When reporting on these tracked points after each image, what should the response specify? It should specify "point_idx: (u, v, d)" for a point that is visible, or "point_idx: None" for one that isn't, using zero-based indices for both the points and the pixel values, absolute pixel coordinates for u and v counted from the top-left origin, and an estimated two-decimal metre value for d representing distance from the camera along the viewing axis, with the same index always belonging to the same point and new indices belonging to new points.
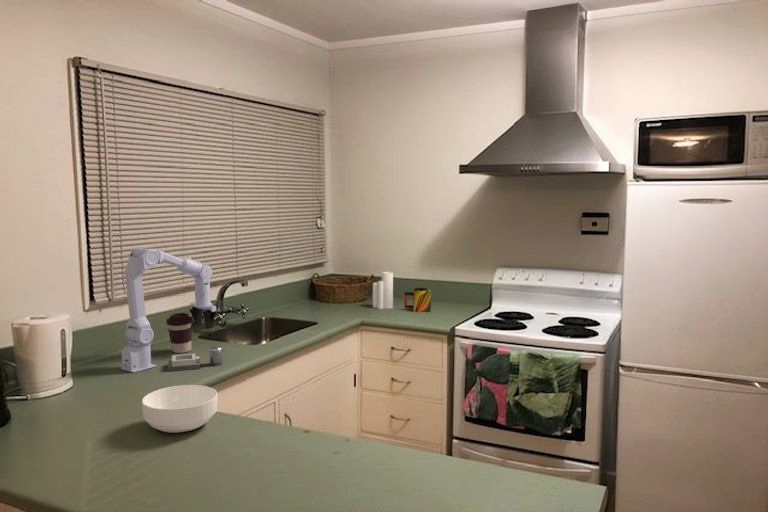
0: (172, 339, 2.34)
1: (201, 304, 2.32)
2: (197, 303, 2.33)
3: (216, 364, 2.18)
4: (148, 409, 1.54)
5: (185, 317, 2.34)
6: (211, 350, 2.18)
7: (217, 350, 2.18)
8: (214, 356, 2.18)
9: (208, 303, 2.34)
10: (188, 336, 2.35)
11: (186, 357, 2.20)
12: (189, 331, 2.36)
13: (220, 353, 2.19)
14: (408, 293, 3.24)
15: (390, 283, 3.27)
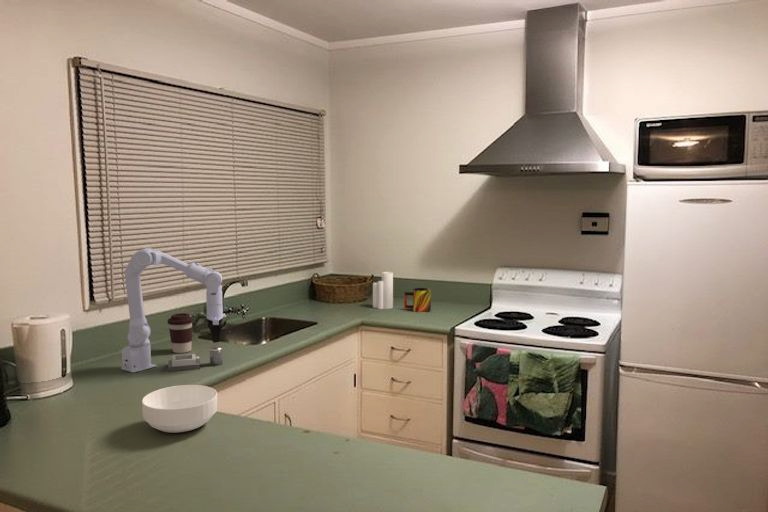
0: (172, 339, 2.34)
1: (209, 315, 2.16)
2: (207, 313, 2.17)
3: (216, 364, 2.18)
4: (148, 409, 1.54)
5: (186, 317, 2.35)
6: (211, 350, 2.18)
7: (217, 350, 2.18)
8: (214, 356, 2.18)
9: (217, 315, 2.16)
10: (188, 336, 2.36)
11: (186, 357, 2.20)
12: (190, 331, 2.36)
13: (220, 353, 2.19)
14: (408, 293, 3.24)
15: (390, 283, 3.27)
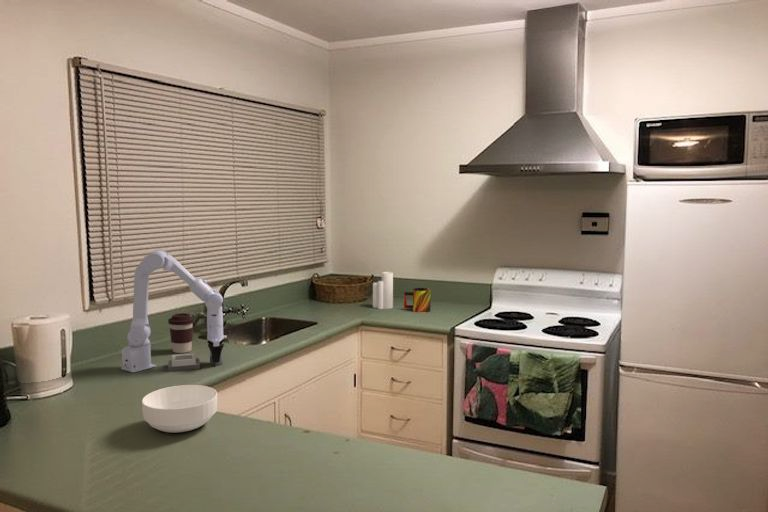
0: (173, 338, 2.34)
1: (209, 336, 2.17)
2: (207, 334, 2.18)
3: (216, 364, 2.18)
4: (148, 409, 1.54)
5: (187, 317, 2.35)
6: None
7: None
8: None
9: (217, 336, 2.17)
10: (189, 336, 2.36)
11: (186, 357, 2.20)
12: (190, 331, 2.36)
13: None
14: (408, 293, 3.24)
15: (390, 283, 3.27)
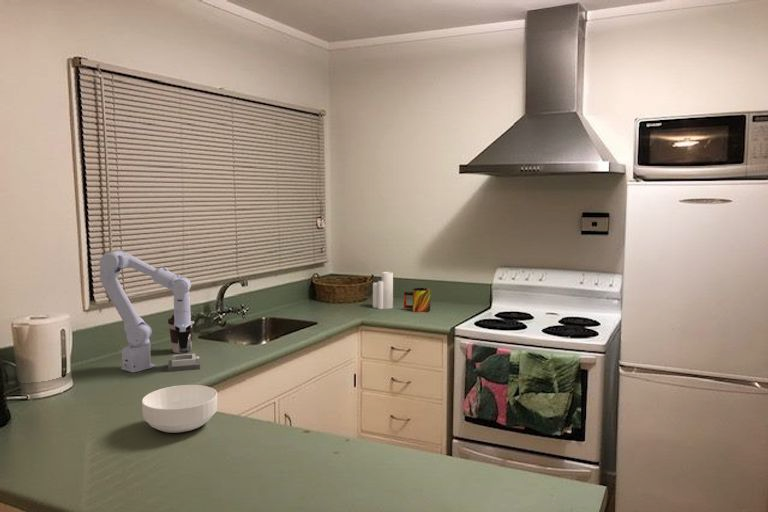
0: (173, 339, 2.34)
1: (176, 322, 2.13)
2: (174, 320, 2.14)
3: (184, 351, 2.15)
4: (148, 409, 1.54)
5: None
6: None
7: None
8: None
9: (184, 322, 2.13)
10: None
11: (186, 357, 2.20)
12: None
13: (188, 340, 2.15)
14: (407, 293, 3.24)
15: (390, 283, 3.27)
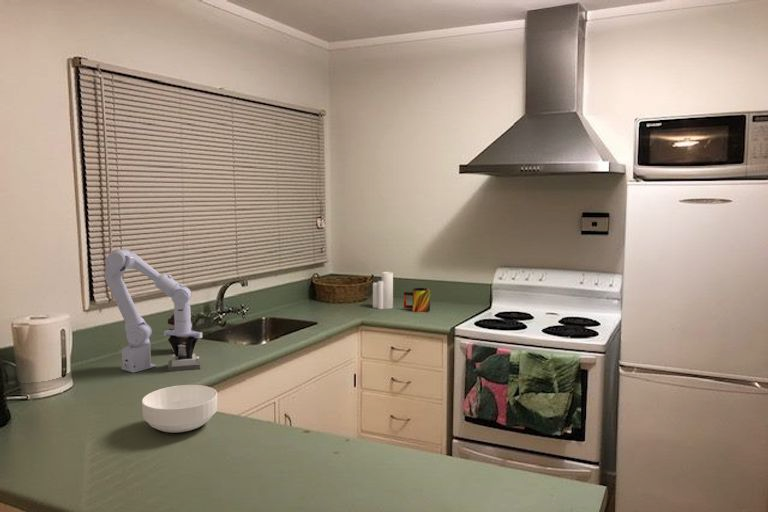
0: None
1: (184, 331, 2.13)
2: (179, 331, 2.13)
3: None
4: (148, 409, 1.54)
5: None
6: (185, 346, 2.15)
7: None
8: None
9: (190, 330, 2.16)
10: None
11: None
12: None
13: None
14: (407, 293, 3.24)
15: (390, 283, 3.27)
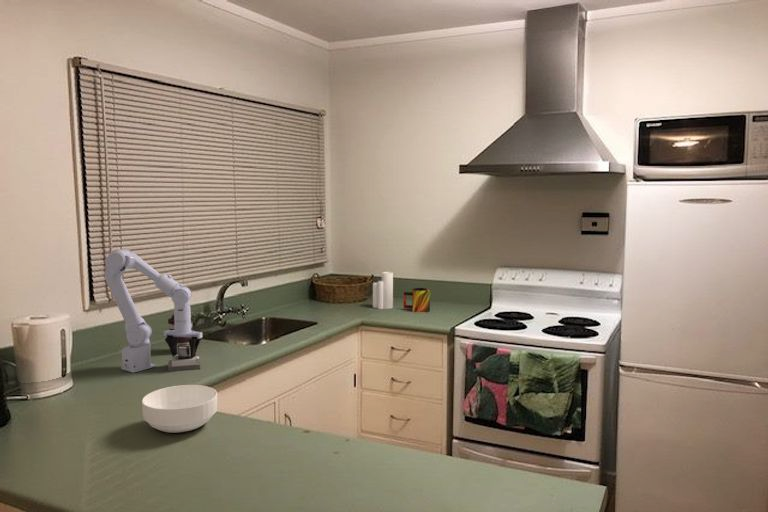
0: None
1: (184, 331, 2.13)
2: (179, 331, 2.13)
3: None
4: (148, 409, 1.54)
5: None
6: (185, 348, 2.15)
7: None
8: (188, 353, 2.16)
9: (190, 330, 2.16)
10: None
11: None
12: None
13: None
14: (407, 293, 3.24)
15: (390, 283, 3.27)
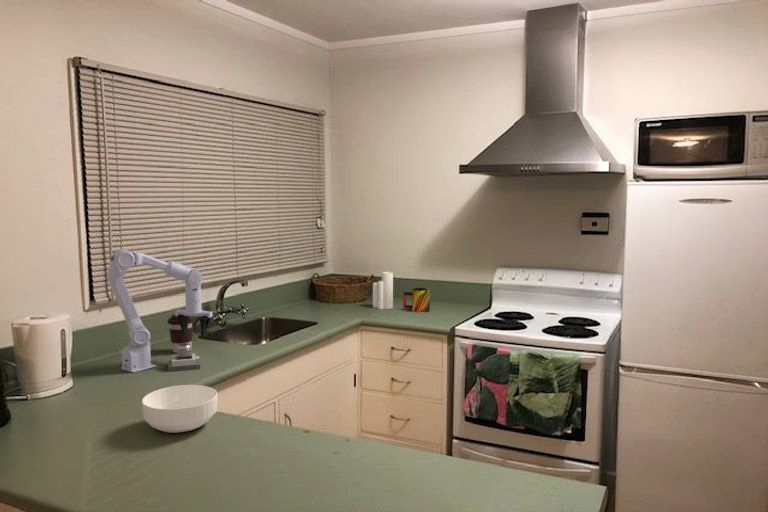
0: (172, 338, 2.34)
1: (195, 311, 2.21)
2: (190, 310, 2.21)
3: None
4: (148, 409, 1.54)
5: None
6: (185, 348, 2.15)
7: (190, 346, 2.17)
8: (188, 353, 2.16)
9: (201, 309, 2.24)
10: (188, 336, 2.36)
11: None
12: (190, 331, 2.36)
13: None
14: (407, 293, 3.24)
15: (390, 283, 3.27)
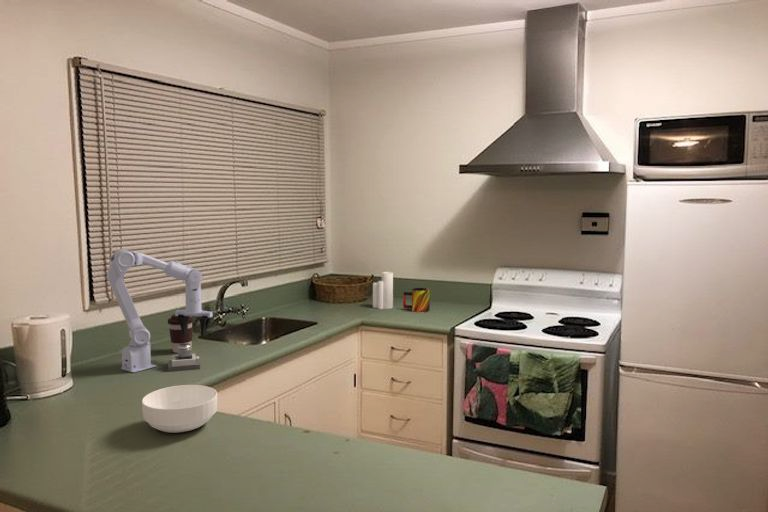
0: (172, 338, 2.34)
1: (195, 311, 2.21)
2: (190, 310, 2.21)
3: None
4: (148, 409, 1.54)
5: None
6: (185, 348, 2.15)
7: (190, 346, 2.17)
8: (188, 353, 2.16)
9: (201, 309, 2.24)
10: (188, 336, 2.36)
11: None
12: (189, 331, 2.36)
13: None
14: (407, 293, 3.24)
15: (390, 283, 3.27)
